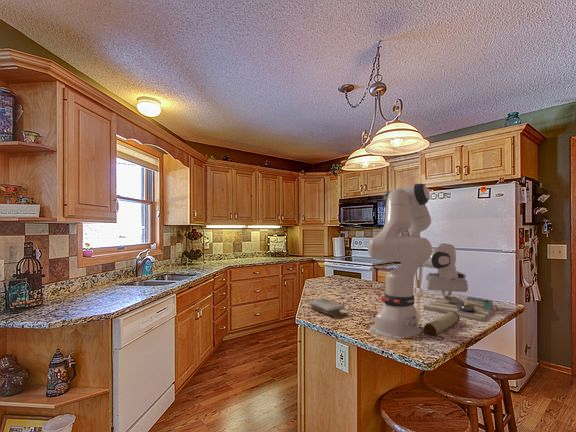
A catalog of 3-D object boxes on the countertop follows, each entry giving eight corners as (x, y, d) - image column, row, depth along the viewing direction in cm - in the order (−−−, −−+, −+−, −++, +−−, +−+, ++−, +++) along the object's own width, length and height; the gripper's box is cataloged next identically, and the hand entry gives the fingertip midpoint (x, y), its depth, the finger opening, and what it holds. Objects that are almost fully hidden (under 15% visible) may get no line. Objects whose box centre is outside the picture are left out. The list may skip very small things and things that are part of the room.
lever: (476, 311, 145) (476, 305, 145) (463, 311, 146) (463, 304, 146) (456, 300, 166) (456, 294, 166) (445, 300, 166) (445, 294, 166)
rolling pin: (431, 341, 116) (431, 328, 116) (417, 337, 120) (417, 324, 120) (463, 322, 137) (463, 311, 137) (450, 319, 141) (450, 308, 141)
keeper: (490, 310, 148) (490, 301, 148) (466, 306, 156) (466, 297, 156) (492, 309, 150) (492, 300, 150) (468, 305, 158) (468, 296, 158)
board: (482, 321, 138) (482, 317, 138) (423, 309, 156) (423, 306, 156) (497, 308, 158) (497, 305, 158) (444, 299, 176) (444, 296, 176)
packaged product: (323, 306, 163) (307, 309, 158) (323, 297, 163) (307, 300, 158) (345, 315, 147) (328, 318, 142) (345, 305, 147) (328, 308, 142)
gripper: (428, 273, 163) (427, 299, 163) (469, 275, 160) (469, 301, 160) (424, 271, 169) (424, 296, 169) (464, 273, 166) (464, 298, 166)
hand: (446, 299), depth 165 cm, fingers closed
